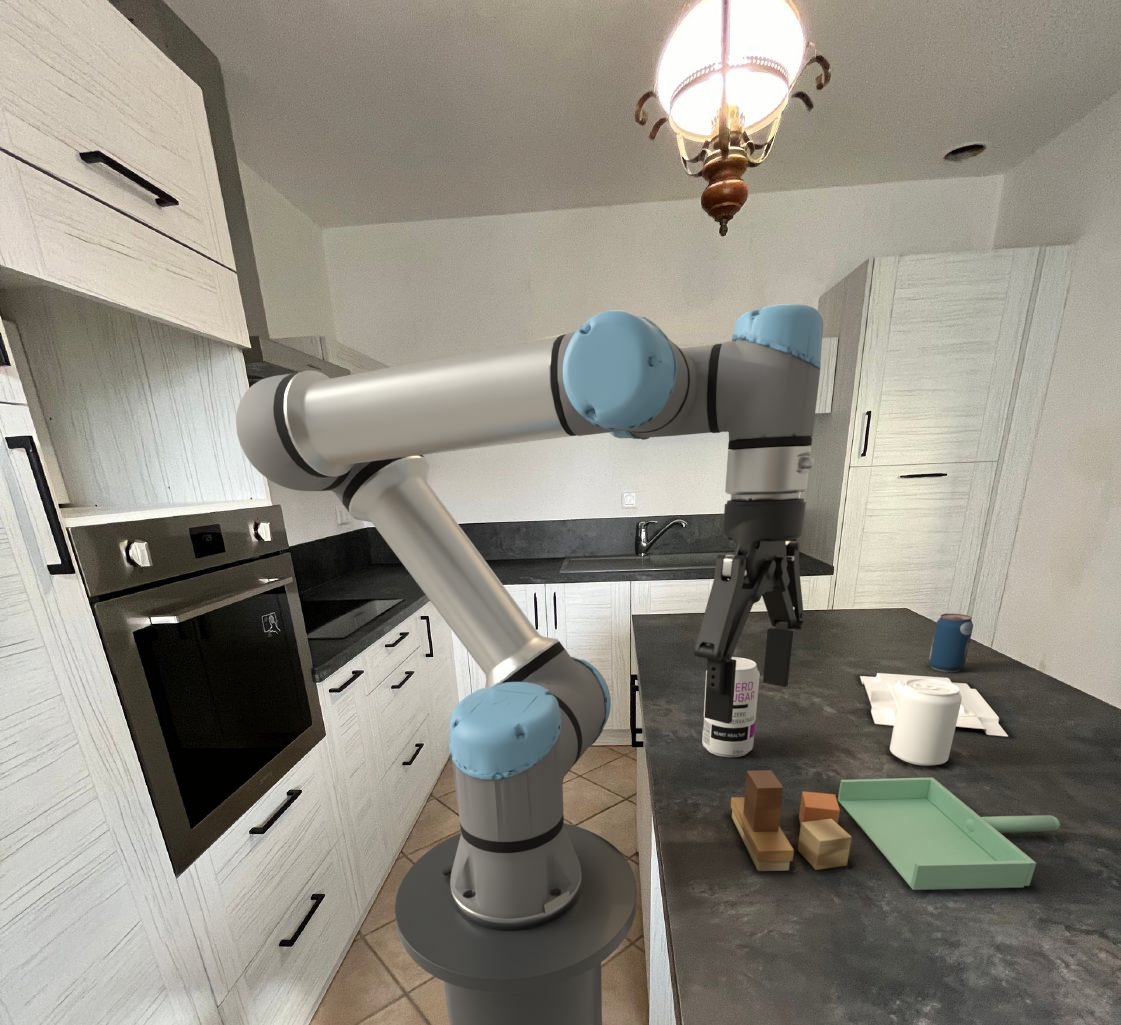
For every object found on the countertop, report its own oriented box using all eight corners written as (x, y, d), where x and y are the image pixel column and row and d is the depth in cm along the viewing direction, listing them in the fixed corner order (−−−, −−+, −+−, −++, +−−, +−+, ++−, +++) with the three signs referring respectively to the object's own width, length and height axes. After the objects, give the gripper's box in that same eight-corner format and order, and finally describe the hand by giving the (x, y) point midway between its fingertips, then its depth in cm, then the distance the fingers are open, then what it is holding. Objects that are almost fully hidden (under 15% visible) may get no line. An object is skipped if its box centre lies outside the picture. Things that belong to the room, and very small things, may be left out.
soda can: (970, 672, 130) (982, 619, 125) (938, 673, 130) (948, 620, 126) (952, 663, 136) (963, 612, 132) (921, 664, 137) (931, 613, 132)
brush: (756, 872, 68) (763, 805, 65) (729, 816, 79) (734, 756, 76) (791, 871, 68) (799, 804, 65) (759, 815, 79) (765, 756, 76)
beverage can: (944, 773, 88) (961, 699, 84) (884, 760, 93) (897, 688, 89) (950, 753, 94) (966, 683, 90) (893, 741, 99) (906, 674, 95)
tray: (966, 683, 124) (970, 666, 122) (1008, 742, 100) (1014, 722, 98) (858, 675, 130) (861, 660, 129) (873, 729, 106) (877, 710, 105)
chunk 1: (801, 833, 75) (805, 806, 74) (798, 817, 79) (802, 791, 77) (835, 837, 74) (840, 810, 73) (831, 820, 78) (835, 794, 76)
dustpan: (913, 890, 65) (918, 865, 63) (837, 799, 82) (840, 779, 81) (1122, 885, 64) (1131, 860, 63) (1000, 795, 82) (1006, 775, 81)
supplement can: (724, 734, 104) (730, 652, 99) (763, 750, 98) (771, 664, 92) (691, 746, 100) (696, 662, 95) (730, 763, 94) (736, 674, 88)
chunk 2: (815, 870, 68) (819, 841, 67) (797, 850, 72) (800, 822, 70) (847, 865, 69) (852, 836, 67) (827, 846, 72) (831, 818, 71)
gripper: (740, 504, 46) (724, 748, 54) (849, 490, 63) (825, 677, 71) (660, 504, 51) (655, 728, 59) (781, 491, 68) (765, 666, 75)
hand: (748, 700), depth 65 cm, fingers open, 13 cm apart
